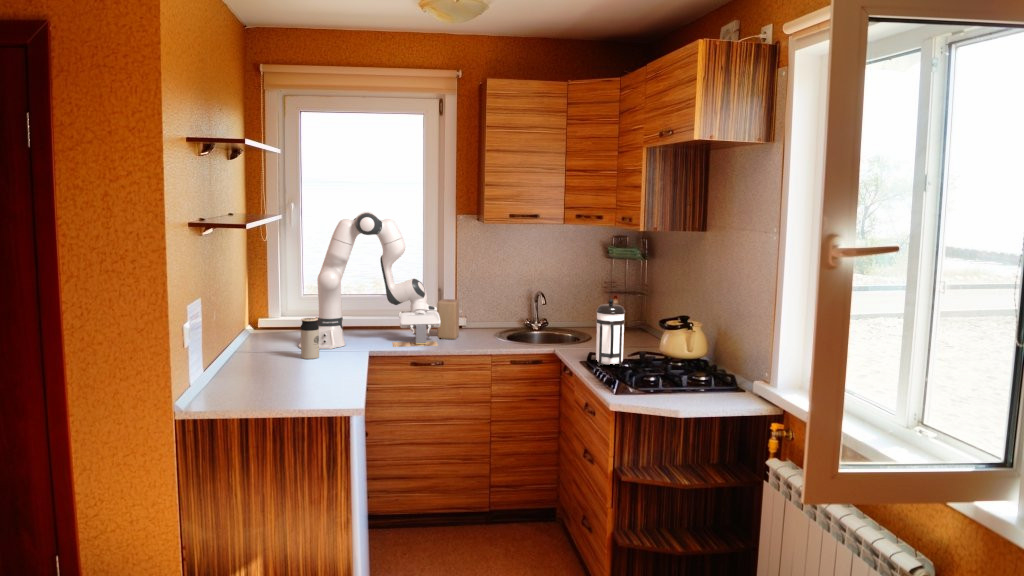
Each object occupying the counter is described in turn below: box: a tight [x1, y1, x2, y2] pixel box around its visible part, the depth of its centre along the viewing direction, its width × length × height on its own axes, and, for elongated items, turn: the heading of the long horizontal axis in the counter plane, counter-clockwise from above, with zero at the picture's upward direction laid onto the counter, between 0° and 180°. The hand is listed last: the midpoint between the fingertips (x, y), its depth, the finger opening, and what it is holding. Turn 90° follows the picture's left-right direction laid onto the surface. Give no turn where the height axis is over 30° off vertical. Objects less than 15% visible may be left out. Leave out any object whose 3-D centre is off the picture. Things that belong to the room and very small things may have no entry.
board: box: [391, 340, 439, 348], centre depth 377 cm, size 22×12×2 cm, turn 101°
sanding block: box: [414, 325, 427, 344], centre depth 377 cm, size 5×5×9 cm
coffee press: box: [595, 298, 626, 366], centre depth 338 cm, size 17×16×30 cm
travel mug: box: [300, 317, 320, 360], centre depth 349 cm, size 8×8×18 cm
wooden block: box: [436, 298, 460, 340], centre depth 402 cm, size 10×10×20 cm
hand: (421, 333), depth 377 cm, fingers closed on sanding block, 5 cm apart
